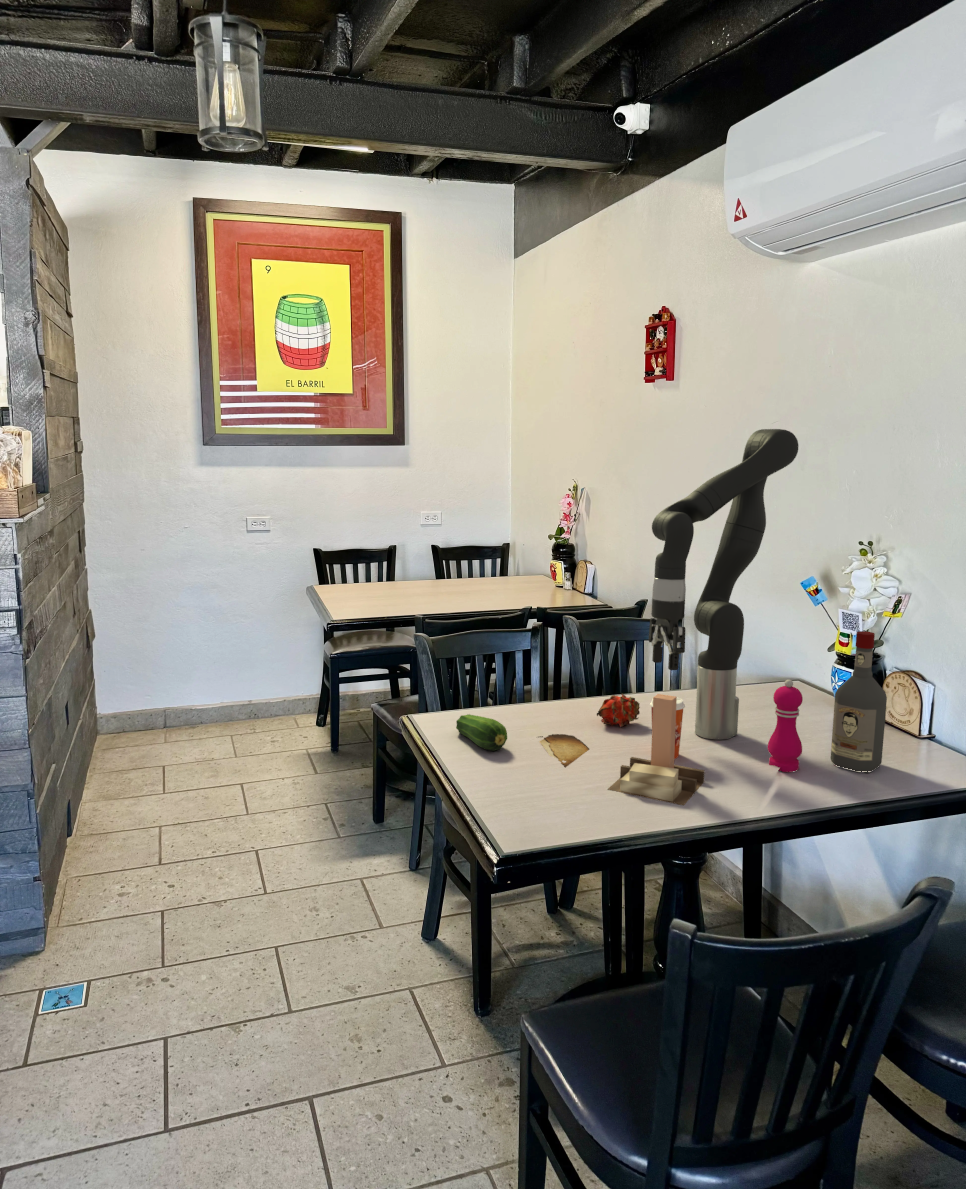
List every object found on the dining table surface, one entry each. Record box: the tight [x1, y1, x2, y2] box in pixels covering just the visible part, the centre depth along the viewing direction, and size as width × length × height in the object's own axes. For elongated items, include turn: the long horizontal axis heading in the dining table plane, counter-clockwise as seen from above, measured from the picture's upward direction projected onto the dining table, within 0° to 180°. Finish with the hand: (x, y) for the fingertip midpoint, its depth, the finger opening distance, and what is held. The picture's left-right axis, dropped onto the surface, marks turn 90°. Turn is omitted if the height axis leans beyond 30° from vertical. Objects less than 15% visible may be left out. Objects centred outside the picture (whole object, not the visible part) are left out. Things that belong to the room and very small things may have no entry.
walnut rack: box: [607, 756, 706, 806], centre depth 183 cm, size 16×14×4 cm
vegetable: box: [455, 713, 508, 752], centre depth 212 cm, size 7×7×20 cm
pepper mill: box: [767, 679, 803, 773], centre depth 194 cm, size 7×7×20 cm
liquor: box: [830, 630, 888, 772], centre depth 194 cm, size 9×9×30 cm
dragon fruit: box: [596, 693, 641, 728], centre depth 224 cm, size 8×8×12 cm
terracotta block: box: [650, 693, 678, 768], centre depth 184 cm, size 4×3×18 cm
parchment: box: [536, 733, 590, 768], centre depth 205 cm, size 25×10×1 cm, turn 10°
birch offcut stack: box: [620, 763, 682, 802], centre depth 180 cm, size 11×6×5 cm, turn 60°
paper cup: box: [649, 696, 686, 760], centre depth 199 cm, size 8×8×14 cm
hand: (664, 666), depth 208 cm, fingers open, 8 cm apart
